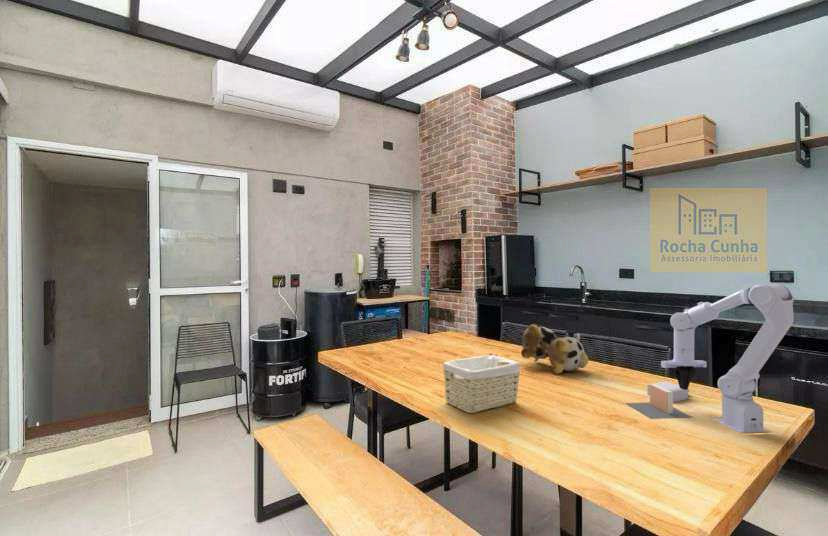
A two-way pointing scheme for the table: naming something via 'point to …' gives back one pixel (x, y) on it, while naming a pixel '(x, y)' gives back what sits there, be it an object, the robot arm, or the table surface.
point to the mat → (656, 411)
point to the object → (481, 382)
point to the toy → (553, 349)
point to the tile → (661, 398)
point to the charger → (677, 391)
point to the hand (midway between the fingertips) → (683, 388)
